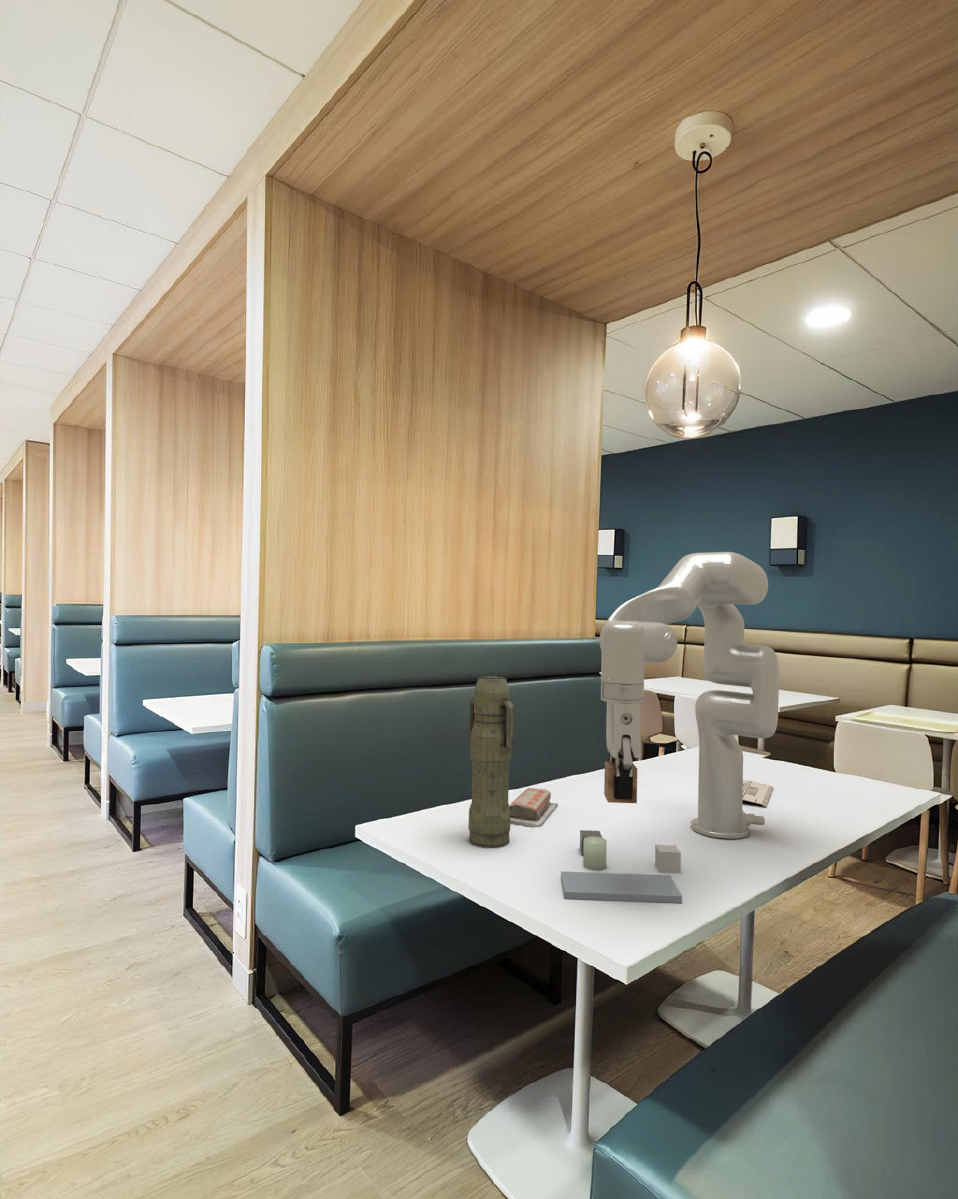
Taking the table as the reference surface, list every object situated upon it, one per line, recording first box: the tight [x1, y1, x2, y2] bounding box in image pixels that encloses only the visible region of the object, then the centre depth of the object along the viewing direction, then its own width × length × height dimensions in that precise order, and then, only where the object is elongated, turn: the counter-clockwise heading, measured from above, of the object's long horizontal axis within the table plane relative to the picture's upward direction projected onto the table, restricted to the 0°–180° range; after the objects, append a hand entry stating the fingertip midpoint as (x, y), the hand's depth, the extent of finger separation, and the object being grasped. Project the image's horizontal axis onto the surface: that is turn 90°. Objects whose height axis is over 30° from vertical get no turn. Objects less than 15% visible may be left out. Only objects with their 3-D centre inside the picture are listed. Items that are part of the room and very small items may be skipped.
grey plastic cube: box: [654, 844, 682, 874], centre depth 133 cm, size 4×4×4 cm
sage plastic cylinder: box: [582, 836, 608, 871], centre depth 134 cm, size 4×4×5 cm
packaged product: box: [509, 787, 559, 828], centre depth 166 cm, size 18×5×10 cm
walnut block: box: [603, 761, 638, 804], centre depth 123 cm, size 5×5×6 cm
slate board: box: [560, 870, 683, 904], centre depth 123 cm, size 20×9×1 cm, turn 87°
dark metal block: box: [579, 829, 603, 857], centre depth 141 cm, size 4×4×4 cm
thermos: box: [468, 675, 515, 849], centre depth 147 cm, size 9×12×35 cm
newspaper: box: [743, 779, 774, 809], centre depth 186 cm, size 23×12×2 cm, turn 152°
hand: (620, 793), depth 123 cm, fingers closed on walnut block, 5 cm apart
